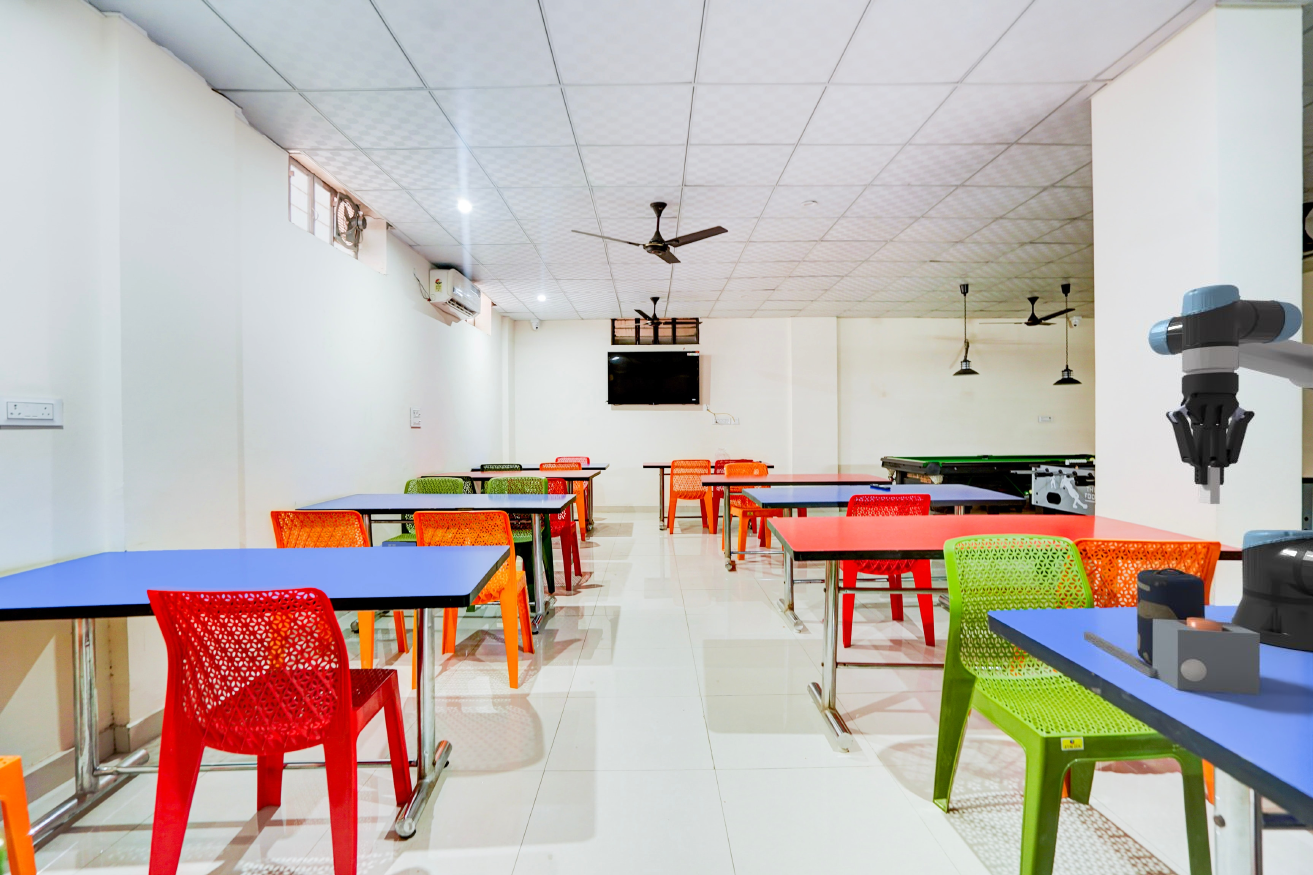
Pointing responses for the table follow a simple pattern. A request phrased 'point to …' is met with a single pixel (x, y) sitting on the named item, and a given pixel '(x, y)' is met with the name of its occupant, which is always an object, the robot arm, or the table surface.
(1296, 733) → the table surface
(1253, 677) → the end cabinet
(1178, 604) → the canister
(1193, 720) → the table surface
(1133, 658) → the rail track
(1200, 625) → the button
